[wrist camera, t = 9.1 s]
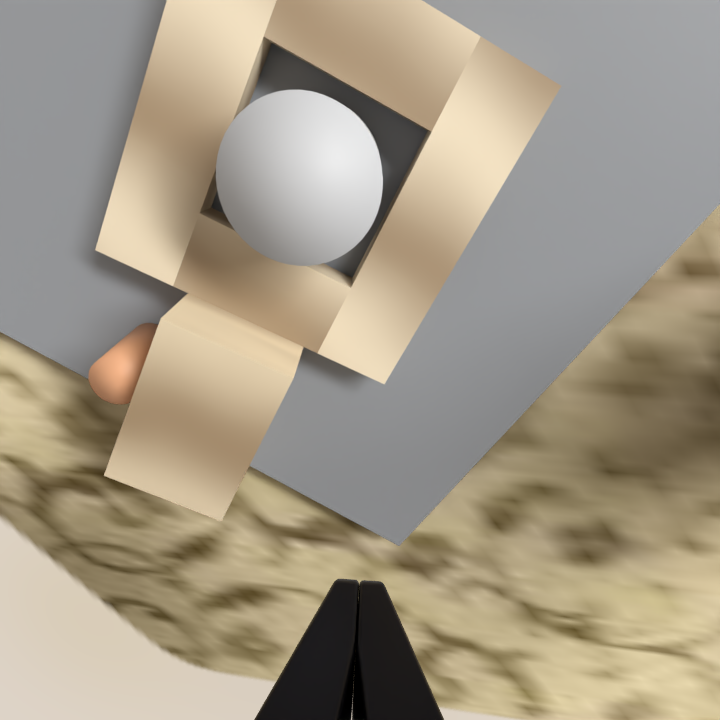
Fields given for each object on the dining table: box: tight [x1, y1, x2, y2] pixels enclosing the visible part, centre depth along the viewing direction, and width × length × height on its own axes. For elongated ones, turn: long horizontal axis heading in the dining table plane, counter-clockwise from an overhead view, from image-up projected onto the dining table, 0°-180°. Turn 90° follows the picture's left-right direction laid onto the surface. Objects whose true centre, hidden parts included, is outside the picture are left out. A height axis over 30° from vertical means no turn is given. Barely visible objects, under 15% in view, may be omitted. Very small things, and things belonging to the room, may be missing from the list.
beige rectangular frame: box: [95, 0, 561, 521], centre depth 15 cm, size 16×10×4 cm, turn 153°
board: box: [0, 0, 720, 546], centre depth 15 cm, size 22×22×5 cm
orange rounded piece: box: [88, 323, 158, 404], centre depth 17 cm, size 2×2×3 cm
